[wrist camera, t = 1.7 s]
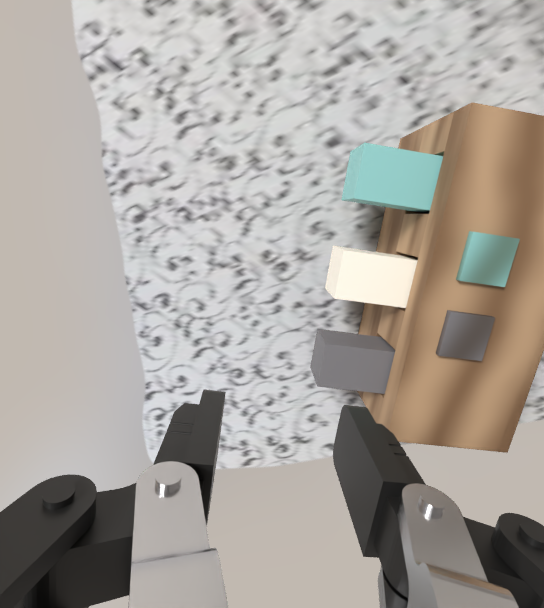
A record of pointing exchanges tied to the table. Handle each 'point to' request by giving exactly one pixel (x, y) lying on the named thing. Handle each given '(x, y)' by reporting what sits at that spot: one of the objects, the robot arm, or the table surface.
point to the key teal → (391, 177)
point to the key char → (351, 361)
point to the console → (467, 285)
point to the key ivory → (370, 276)
